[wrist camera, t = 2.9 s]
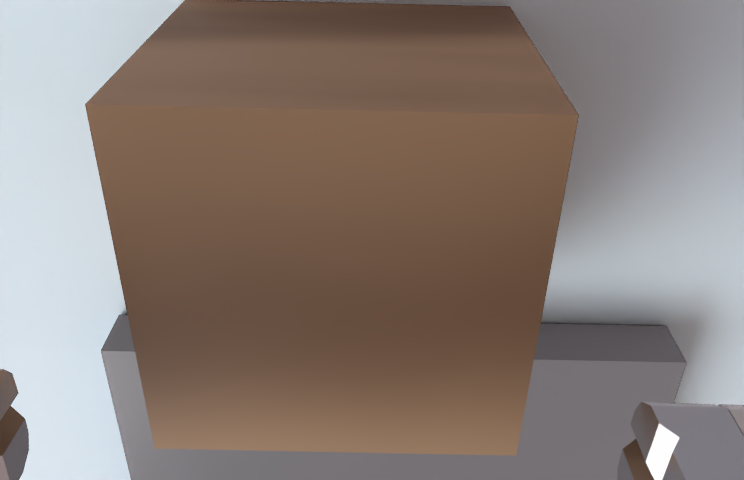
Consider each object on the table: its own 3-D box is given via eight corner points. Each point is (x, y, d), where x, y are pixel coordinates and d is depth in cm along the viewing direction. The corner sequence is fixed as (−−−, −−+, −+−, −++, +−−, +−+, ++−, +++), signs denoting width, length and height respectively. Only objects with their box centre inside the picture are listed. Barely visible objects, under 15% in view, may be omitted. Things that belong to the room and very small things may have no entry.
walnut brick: (187, -3, 12) (85, 104, 8) (508, 4, 12) (578, 115, 8) (217, 265, 15) (154, 448, 11) (477, 271, 15) (516, 455, 11)
